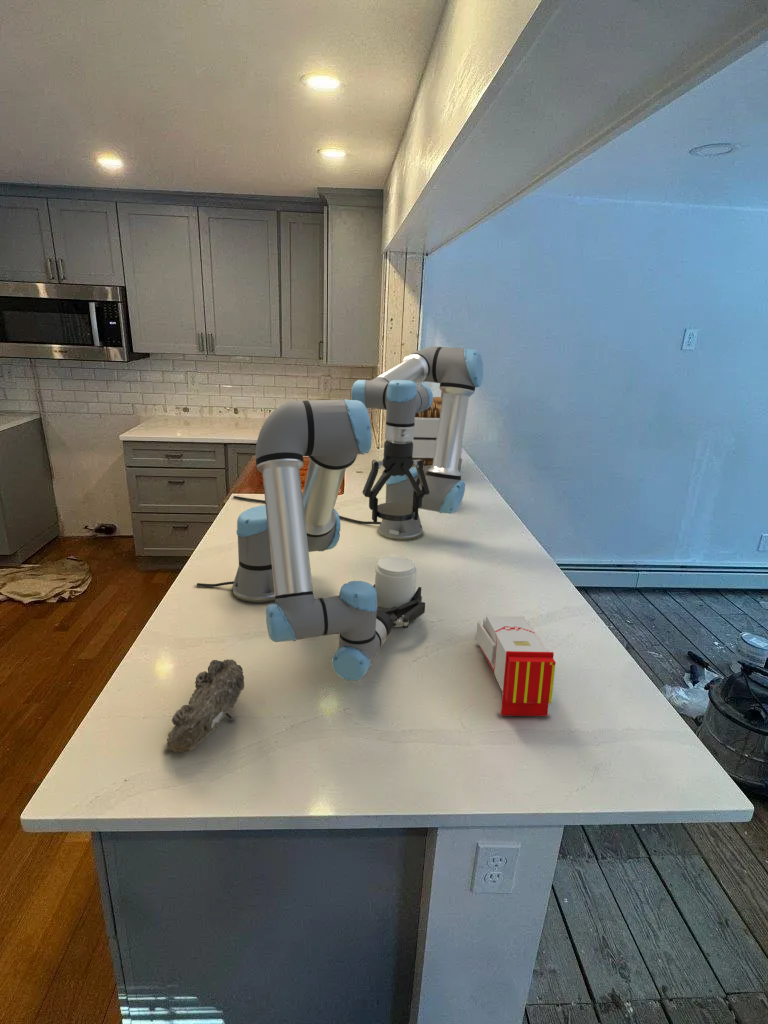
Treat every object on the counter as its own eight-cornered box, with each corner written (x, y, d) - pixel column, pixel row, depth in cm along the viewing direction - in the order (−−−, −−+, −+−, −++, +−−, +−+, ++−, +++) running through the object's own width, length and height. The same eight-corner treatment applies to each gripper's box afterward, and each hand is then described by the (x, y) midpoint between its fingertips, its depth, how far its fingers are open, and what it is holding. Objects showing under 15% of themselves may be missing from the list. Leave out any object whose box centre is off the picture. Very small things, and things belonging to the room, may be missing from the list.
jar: (397, 602, 153) (400, 551, 148) (421, 619, 145) (425, 566, 140) (365, 613, 147) (367, 560, 142) (389, 631, 140) (392, 576, 134)
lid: (389, 523, 148) (389, 518, 148) (367, 511, 157) (367, 505, 156) (423, 517, 154) (423, 512, 154) (400, 505, 163) (400, 500, 162)
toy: (522, 601, 137) (564, 658, 107) (517, 652, 139) (557, 722, 110) (472, 600, 136) (500, 657, 107) (468, 651, 139) (495, 721, 110)
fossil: (192, 660, 117) (244, 628, 112) (224, 691, 120) (276, 661, 115) (142, 746, 98) (202, 712, 93) (182, 779, 101) (242, 748, 96)
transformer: (382, 463, 289) (386, 382, 275) (445, 464, 293) (451, 384, 279) (390, 482, 257) (394, 392, 243) (460, 483, 261) (468, 394, 247)
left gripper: (325, 634, 132) (357, 592, 152) (419, 655, 126) (441, 608, 146) (325, 606, 130) (358, 567, 150) (422, 625, 124) (443, 582, 144)
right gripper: (359, 444, 142) (356, 526, 149) (445, 443, 148) (439, 521, 156) (352, 438, 149) (350, 516, 156) (435, 437, 155) (429, 512, 163)
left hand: (399, 587), depth 148 cm, fingers closed on jar, 10 cm apart
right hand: (394, 519), depth 156 cm, fingers closed on lid, 11 cm apart
